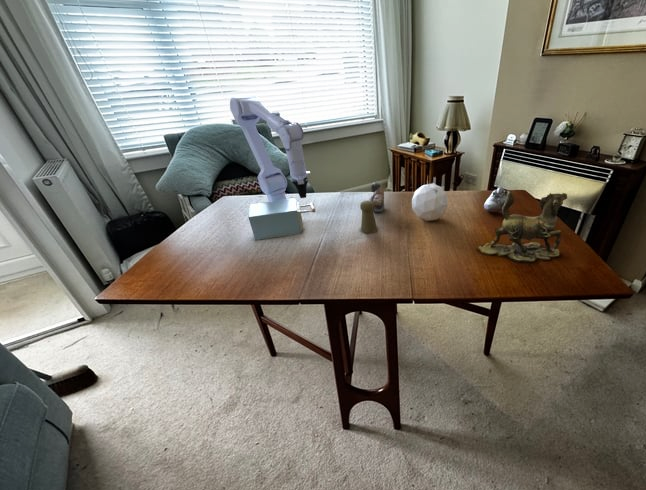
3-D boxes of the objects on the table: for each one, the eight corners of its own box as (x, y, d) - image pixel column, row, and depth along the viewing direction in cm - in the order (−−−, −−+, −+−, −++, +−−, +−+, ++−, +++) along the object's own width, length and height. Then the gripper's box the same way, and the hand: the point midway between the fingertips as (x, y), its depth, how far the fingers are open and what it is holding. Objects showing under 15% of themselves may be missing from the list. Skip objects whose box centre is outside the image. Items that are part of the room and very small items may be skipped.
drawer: (315, 215, 125) (312, 198, 121) (318, 227, 116) (315, 209, 112) (262, 223, 120) (257, 206, 116) (261, 236, 111) (255, 217, 107)
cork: (377, 226, 117) (376, 198, 111) (375, 233, 112) (374, 204, 106) (362, 225, 118) (360, 198, 112) (359, 232, 113) (357, 204, 107)
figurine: (565, 265, 91) (589, 200, 79) (478, 259, 95) (489, 197, 83) (554, 244, 101) (573, 184, 90) (476, 240, 105) (485, 182, 94)
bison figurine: (384, 214, 126) (383, 190, 121) (367, 214, 126) (366, 191, 121) (384, 203, 136) (383, 181, 130) (368, 204, 136) (367, 181, 131)
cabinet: (299, 219, 125) (294, 198, 119) (301, 232, 115) (296, 210, 109) (256, 226, 121) (250, 204, 116) (255, 240, 111) (248, 217, 106)
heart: (513, 211, 124) (513, 181, 118) (507, 219, 117) (507, 188, 112) (488, 210, 129) (487, 182, 124) (481, 218, 123) (480, 189, 117)
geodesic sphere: (463, 208, 114) (449, 172, 113) (434, 218, 107) (419, 180, 107) (439, 220, 127) (427, 188, 127) (413, 229, 121) (399, 195, 120)
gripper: (309, 164, 104) (315, 202, 112) (305, 155, 115) (311, 190, 123) (288, 166, 102) (296, 205, 110) (286, 157, 114) (294, 192, 122)
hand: (303, 197), depth 116 cm, fingers closed
